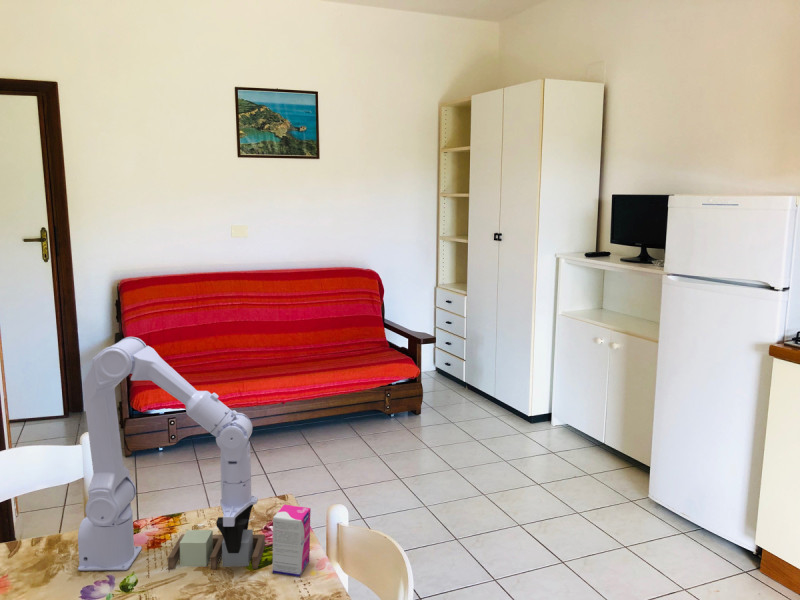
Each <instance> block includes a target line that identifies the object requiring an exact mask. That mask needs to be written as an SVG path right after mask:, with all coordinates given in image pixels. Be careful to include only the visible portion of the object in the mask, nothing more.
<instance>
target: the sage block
mask: <svg viewBox="0 0 800 600" xmlns="http://www.w3.org/2000/svg"><path fill="white" fill-rule="evenodd" d="M185 531H186V532H185V533H184V534H183V535H184V536H183V538H182V540H181V541H180V559H179V563H180V565H179V566H180V567H183V568H184V567H187V568H189V567H192V568H193V567H195V568H197V567H198V568H199V567H201V568H202V567H203V568H204V567H208V564H209V562H210V556H211V554H212V552H213V535H214V534H213V533H214V532H213V529H187V530H185Z"/></svg>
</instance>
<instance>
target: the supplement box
mask: <svg viewBox="0 0 800 600" xmlns="http://www.w3.org/2000/svg"><path fill="white" fill-rule="evenodd" d="M310 543H311V508H310V507H305V506H297V505H290V504H283V505H282V506H281V507H280V509H278V511H277V512H276V514H274V516H273V517H272V567H271V568H272V569H271V570H272V572H271V573H272V574H275V575H284V576H290V577H295V578H298V577H301V575H302V573H303V571H304V570H305V569H306V567H307V565H308V564H309V562H310V554H311V553H310V551H311V550H310V549H311V544H310Z"/></svg>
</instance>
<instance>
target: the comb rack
mask: <svg viewBox="0 0 800 600" xmlns="http://www.w3.org/2000/svg"><path fill="white" fill-rule="evenodd" d="M184 535H185V534H180V535H179V537H178V539H177V541H176V543H175V544H174V546H173V548H172V550H171V551H170V553H169V555H168V557H167V566H168V567H167V569H168V570H175V568H176V566H177V565H178V563H179V562H180V541H181V540H182V538H183V536H184ZM223 539H224V538H223V535H222V534H213V552H212V554H211V556H210V560H209V562H210V563H209V564H210V566H209V567H210V570H216V569H217V567H218V565H219V562H220V560H221V558H222V542H223ZM265 547H266V535H265V534H261V533H259V534H254V533H253V554H252V557H251V561H252V564H251V565H252V566H251V567H252V568H251V569H252V570H258V568H259V565H260V562H261V559H262V556H263V553H264V550H265Z"/></svg>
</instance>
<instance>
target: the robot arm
mask: <svg viewBox="0 0 800 600" xmlns="http://www.w3.org/2000/svg"><path fill="white" fill-rule="evenodd" d="M130 374H131V376H130V381H152V382H153V384H155V385H157V386H158V387H159V388H161V389H162V390H164V391H165V392H167V394H169V395H171V396H172V397H174V398H175V399H177V401H179V402H181V403H182V404H183V405H184V406H185V411H186V415H187V416H188V417H189V418H190V419H192V420H193V421H194V422H195V423H197V424H198V425H199V426H200V427H202V428H203V429H204V430H206V432H208V433H210V434H211V435H212V436H214V437H215V442H216V445H217V447H218V448H219V449H220V459H219V463H220V497H221V498H220V509H221V511H222V513H223V514H222V517H220V516H219V517H217V520H216V522H215V523H216V524H215V525H216V527H217V529H218V530H219V532H220V533H221V535H223V538H224V541H225V544H226V548H227V551H228V553H239V551H240V547H241V541H242V534H243V530H249V529H248V528H249V523H250V517H251V512H252V510H253V507H254V505H257V503H258V501H259V498H258V496H253V495H252V458H251V457H252V455H251V442H250V440H249V439H250V437H251V436H252V433H253V427H254V426H253V423H252V421H251V419H250V418H249V416H248V415H246V414H245V413H242V412H237V411H236V410H235V409H234V410H233V409H231V408H230V407H228V406H227V405H226V404H224V402H222V401H221V400H219V399H218V398H220V396H219V395H218V394H217V393H216V392H213V393H211V392H210V391H208V390H197V389H196V388H195V387H194V386H193V385H192V384H190V383H189V382H188V381H187V380H186V379H185V378H184V377H183V376H181V375H180V373H178V372H177V371H176V370H175V369H174V368H173V367H172V366H170V365H169V363H167V362H166V361H165V360H164V359H163V358H162V357H161V356H160V355H159V354H158V352H157V351H156V350H155V348H153V347H151V346H149V345H146V343H145V341H143V340H142V339H141V338H139V337H135V336H127V337H124V338H122V339H121V340H119V341H118V342H116V343H114V344H112V345H111V346H107V347H105V348H104V349H103V350H101V351H100V352H99V353H98V354H97V355H95V356H94V357H93V358H92V359H91V366H90V368H89V370H88V371H87V374H86V376H85V377H84V380H83V382H82V392H83V400H84V406H85V414H86V415H85V416H86V424H87V432H88V439H89V440H88V441H89V448H90V454H91V455H90V456H91V463H92V464H91V465H92V471H93V472H92V473H93V474H92V477H91V481H90V483H89V486H88V491H87V492H88V499H87V502H86V504H85V508H84V509H85V515H86V516H85V517H84V518H83V519H82V520H81V523H80V525H79V527H78V532H77V533H78V534H77V546H78V560H79V561H78V562H79V565H78V567H77V571H127V570H129V569H130V567H131V566H132V564H133V563H134V561H135V560H136V559H137V557H138V555H139V554H140V553H141V552H142V549H143V547H142V546H141V545H137V546H135V538H134V536H135V535H134V517H133V509H132V505H131V504H132V501H134V499H135V498H136V496H137V487H136V484H135V482H134V481H133V480H132V477H131V475H130V469H129V468H127V467H126V466H125V465H124V460H123V458H124V457H123V451H122V450H123V449H122V442H121V434H120V425H119V416H118V410H117V409H118V408H117V407H118V406H117V401H116V400H117V398H116V391H115V388H116V387H117V386H119V384H120V383H121V382H122V381H123V380H124V379H126V378H127V377H128V376H129V375H130Z"/></svg>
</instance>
